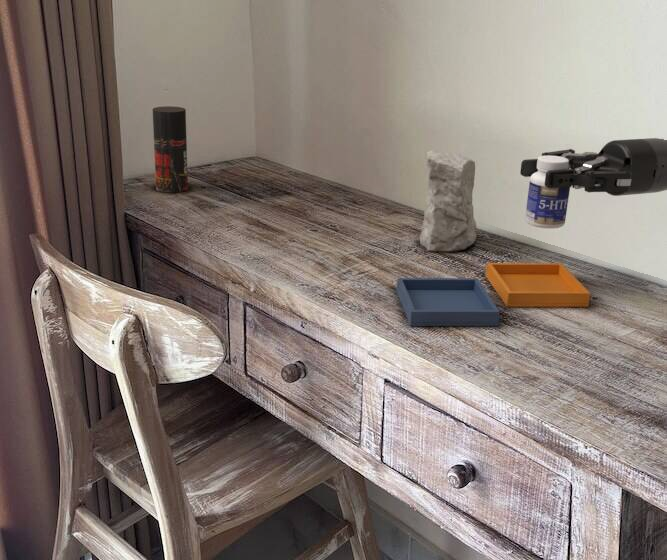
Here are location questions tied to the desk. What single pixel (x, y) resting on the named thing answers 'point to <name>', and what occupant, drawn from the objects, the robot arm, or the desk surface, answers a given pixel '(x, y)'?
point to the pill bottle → (547, 195)
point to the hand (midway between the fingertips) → (534, 173)
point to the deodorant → (170, 149)
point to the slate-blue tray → (446, 302)
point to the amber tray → (537, 285)
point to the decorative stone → (449, 203)
